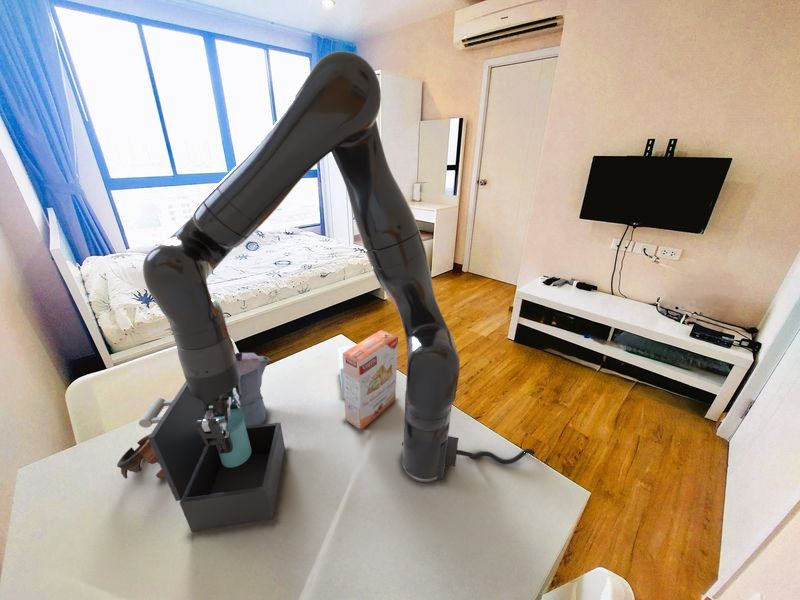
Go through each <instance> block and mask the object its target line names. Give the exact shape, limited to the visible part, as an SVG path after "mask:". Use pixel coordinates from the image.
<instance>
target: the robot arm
mask: <svg viewBox="0 0 800 600" xmlns="http://www.w3.org/2000/svg"><path fill="white" fill-rule="evenodd" d="M377 75H378V74H377V73H376V71H375V69H374V68H373V66H371V64H370V63H369V62H368V61H367V60H366V59H365V58H364V57H362V56H361V55H359V54H357V53H355V52H352V51H347V50H337V51H333V52H329V53H328V54H326V55H324V56H322V57H321V58H320V59H318V61H317V62H316V64H315V65H314V66H313V68H312V70H311V71H310V72H309V75H308V76H307V77H306V79H305V80H304V82H303V84H302V85H301V87H300V88H299V90H298V91H297V93H296V94H295V96H294V97H293V99H292V100H291V102H290V104H289V105H288V106H287V108H286V109H285V110H284V112H283V113H282V114H281V116H280V117H279V119H278V120H277V121H276V122H275V124H274V125H273V126H272V128H271V129H270V130H269V131H268V133H267V134H265V136H264V137H263V138H262V139H261V140H260V141H259V143H258V144H257V145H256V146H255V147H254V148H253V149H252V150H251V151H250V152H249V153H248V154H247V155H246V156H245V157H244V158H243V159H242V160H241V161H240V162H239V163H238V164H237V165H236V166H235V167H233V169H232V170H231V171H230V172H229V173H228V174H227V175H226V176H225V177H224V178H222V180H221V181H220V182H219V183H218V184H217V185H216V186H215V187H214V188H213V189H212V190H211V191H210V192H209V193H208V194H207V195H206V196H205V197H204V199H203V200H202V201H201V202H200V203H199V204H198V205H197V207H196V208H195V209H194V211H193V213H192V216H191V217H190V218H189V219H188V220H187V221H186V222H184V224H183V225H182V226H181V227H180V228H179V229H178V230H177V231H175V233H174V234H172V235H171V236H170V237H169V238H167V240H165V241H164V242H162V243H161V244H159V245H157V246H156V247H154V248H153V249H151V250H150V251H149V252H148V253H147V254H146V255H145V258H144V259H143V263H142V274H143V279H144V282H145V286H146V288H147V291H148V292H149V294H150V296H151V297H152V298H153V300H154V302H155V303H156V305H157V306H158V308H159V309H160V311H161V312H162V314H163V315H164V316H165V317H166V318H167V320H168V321H169V326H170V329H171V333H172V337H173V339H174V341H175V344H176V348H177V356H178V359H179V363H180V366H181V369H182V372H183V376H184V378H185V382H186V381H187V384H188V387H189V390H190V393H191V394H192V395H193V396H194V397H196V398H199V399H200V400H202V401H203V408H204V412H205V413H206V414H205V417H204V420H198V421H197V423H196V428H197V430H198V431H199V433H200V435H201V437H202V439H203V440H204V442H205V444H206V446H212V445H216V446H217V449H218V452H219V454H224V453H230V452H232V449H233V445H232V442H231V438H230V435H229V427H228V424H229V423H230V421H231V412H230V409H238V410H239V408H240V402H239V399H241V398H242V391H241V385H240V372H239V367H238V363H237V359H236V355H235V354H236V351H235V347H234V344H233V341H232V339H231V337H230V334H229V331H228V326H227V322H226V318H225V314H224V310H223V308H222V306H221V304H220V302H218V301H217V300H216V299H214V298H212V296H211V293H210V291H209V290H210V289H209V287H208V280H207V279H208V278H209V276H210V275H211V274H212V273H213V272H214V271H215V269H216V268H218V266H219V265H220V264H221V262H222V261H223V260H224V259H225V258H226V257H227V256H228V255H229V254H230V253H231V252H232V251H233V250H234V249H235V248H237V247H238V246H240V245H242V244H243V243H244V242H245V241H247V240H248V239H249V238H250V237H251V236H252V235H253V234H254V233H255V232H256V231H257V230H258V229H259V228H260V227H261V226H262V225H263V224H264V223H265V222H266V220H268V219H269V217H270V216H271V215H273V213H274V212H275V211H276V210H277V209H278V208H279V206H280V205H281V204H282V203H283V202H284V200H285V199H286V198H287V197H288V196H289V194H290V193H291V192H292V191H293V189H294V188H295V187H296V185H297V184H299V182H300V181H301V180H302V179H303V178H304V176H306V175H307V173H309V172H310V171H311V170H312V169H313V168H314V167H315V166H316V165H317V164H318V163H319V162H320V161H321V160H323V159H324V158H325V157H326V156H327V155H329V154H331V156H332V158H333V160H334V162H335V165H336V167H337V168H338V171H339V173H340V175H341V177H342V180H343V183H344V185H345V189H346V192H347V196H348V199H349V203H350V207H351V212H352V215H353V218H354V222H355V225H356V228H357V231H358V235H359V238H360V241H361V243H362V246H363V249H364V251H365V254H366V256H367V259H368V261H369V264H370V267H371V270H372V272H373V274H374V276H375V277H376V280H377V281H378V283H379V284H380V286H381V288H382V289H383V290H384V292H385V293H386V294H387V296H388V297H389V298H390V299H391V301H392V302H393V304H394V306H395V308H396V309H397V312H398V315H399V318H400V321H401V324H402V328H403V333H404V337H405V342H406V385H405V386H406V387H405V395H404V396H405V397H404V418H403V419H404V420H403V423H404V424H403V441H402V442H401V446H402V458H401V459H402V460H401V461H402V462H401V464H402V468H403V470H404V472H405V473H406V475H407V477H409V478H411V479H412V480H414V481H416V482H419V483H431V482H432V483H433V482H435V481H436V480H440V481H442V480H443V479H444V473H445V470H446V469H445V468H446V466H450V467H456V462H457V455H458V456H463V457H468V458H469V459H471V460H474V459H477V458H480V457H489V458H491V459H493V460H494V461H496V462H498V463H499V464H502V465H511V464H514V463H516V462H518V461H520V460H521V459H522V458H524V456H526V455H527V454H531V455H535V454H536V452H535V450H533V449H532V448H525V449H523V450H522V451H520V452H519V453H518V454H517V455H515V456H514V457H512V458H508V459H507V458H506V459H504V458H501V457H499V456H497V455H496V454H495V453H492V452H491V451H478V452H475V453H472V452H470V451H466V450H460V449H458V444H459V437H456V436H451V435H449V433H450V423H451V415H452V407H453V404H454V402H455V400H456V396H457V390H458V384H459V379H460V369H461V363H460V357H459V356H460V355H459V352H458V349H457V346H456V342H455V339H454V337H453V334H452V332H451V331H450V328H449V327H448V325H447V322H446V320H445V318H444V316H443V313H442V310H441V309H440V306H439V304H438V302H437V299H436V296H435V291H434V285H433V280H432V279H433V278H432V272H431V267H430V262H429V257H428V255H427V250H426V247H425V244H424V241H423V237H422V234H421V232H420V229H419V225H418V222H417V220H416V218H415V215H414V212H413V211H412V208H411V207H410V204H409V203H408V201H407V199H406V197H405V194H404V193H403V191H402V190H401V188H400V185H399V184H398V182H397V180H396V179H395V177H394V174H393V173H392V171H391V168H390V165H389V163H388V160H387V157H386V154H385V150H384V147H383V142H382V139H381V135H380V130H379V126H378V122H377V119H378V116H379V112H380V109H381V104H382V103H381V102H382V90H381V89H382V88H381V84H380V81H379V78H378V76H377ZM236 391H237V392H236ZM223 416H225V419H217V420H216V419H214V417H223ZM220 426H222V427H223V431H221V428H220ZM524 452H525V453H524ZM526 453H527V454H526Z"/></svg>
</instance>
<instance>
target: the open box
mask: <svg viewBox="0 0 800 600" xmlns="http://www.w3.org/2000/svg"><path fill="white" fill-rule="evenodd" d="M245 427H246V430H247V434H248V438H249V442H250V446H251V455H250V457H249V458H248V459H247V460H246V461H245V462H244V463H243V464H241V465H239V466H236V467H231V468H230V467H225V466H224V465H223V464H222V462H221V459H220V456H219V453H218V450H217V447H216V445H212V446H205V448H204V451H203V453H202V455H201V457H200V459H199V462H198V464H197V466H196V468H195V471H194V473H193V475H192V477H191V479H190V482H189V484H188V486H187V488H186V491H185V493H184V495H183V497H182V499H181V501H179V505H180V507H181V510H182V512H183V515H184V517H185V519H186V523H187V524H188V527H189V530H190V531H191V533H192V532H193V533H194V532H201V531H207V530H213V529H219V528H225V527H231V526H239V525H245V524H252V523H257V522H259V523H260V522H264V521H270V520H273V519H274V512H275V507H276V503H277V502H276V501H277V495H278V491H279V486H280V485H279V484H280V479H281V475H282V467H283V463H284V458H285V453H286V446H285V445H286V444H285V440H284V433H283V430H282V423H281V422H280V421H279V422H269V423H261V424H259V425H250V426H245Z"/></svg>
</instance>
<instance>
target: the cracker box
mask: <svg viewBox="0 0 800 600" xmlns="http://www.w3.org/2000/svg"><path fill="white" fill-rule="evenodd" d="M354 345H355V346H353V345H352V346H353V347H352V348H350V349H348V350H347V351H345V352H343V372H344V394H345V398H344V410H345V411H344V412H345V413H344V414H345V421H346V422H347V423H349V424H351V425H352V426H353V427H355V428H358V429H359V430H362V429H365V428H366V427H367V426H368V425H370V423H372V422H373V421H374V420H375V419H377V417H378V416H380V415H381V414H382V413H383V412H384V411H386V410H387V409H388V408H389V407H390V406H391V405H392V404H393V403H394V402H395V401H396V395H397V393H396V392H397V369H398V348H399V346H398V345H399V337H398V336H397V335H394V334H392V333H390V332H388V331H385V330H383V329H380V330H379V331H377V332H375V333H374V334H372V335H370V336H368V337H367V338H365V339H364V340H362V341H360V342H358V343H357V344H354Z"/></svg>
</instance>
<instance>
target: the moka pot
mask: <svg viewBox="0 0 800 600" xmlns="http://www.w3.org/2000/svg"><path fill="white" fill-rule="evenodd" d="M235 355H236V359H237V363H238V367H239V372H240V385H241V391H242V398H241V399H239V402H240V408H239V410H240V411H242V412H243V415H244V423H245V426H250V425H259V424H263V422H264V421H265V420H266V418H267V408H266V405H265V402H264V397H263V396H262V393H261V387H262V382H263V374H264V372H265V370H266V367H267V365H268V363H269V361H271V359H270V358H269V357H268V356H265V355H264V356H262V355H257V354H256V353H255V352H235ZM236 392H237V391H236Z"/></svg>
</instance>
